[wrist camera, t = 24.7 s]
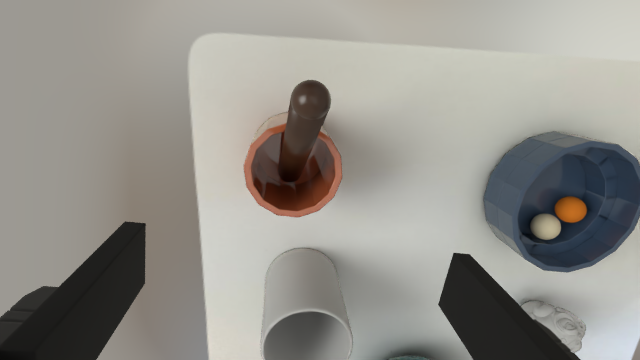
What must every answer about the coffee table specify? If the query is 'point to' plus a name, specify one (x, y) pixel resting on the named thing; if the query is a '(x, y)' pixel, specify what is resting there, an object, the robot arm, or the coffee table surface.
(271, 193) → the holder
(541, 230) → the ball
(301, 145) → the stick
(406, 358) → the vase
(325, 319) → the mug
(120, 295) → the robot arm
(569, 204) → the ball
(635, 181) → the bowl
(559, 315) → the frog figurine
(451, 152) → the coffee table surface
